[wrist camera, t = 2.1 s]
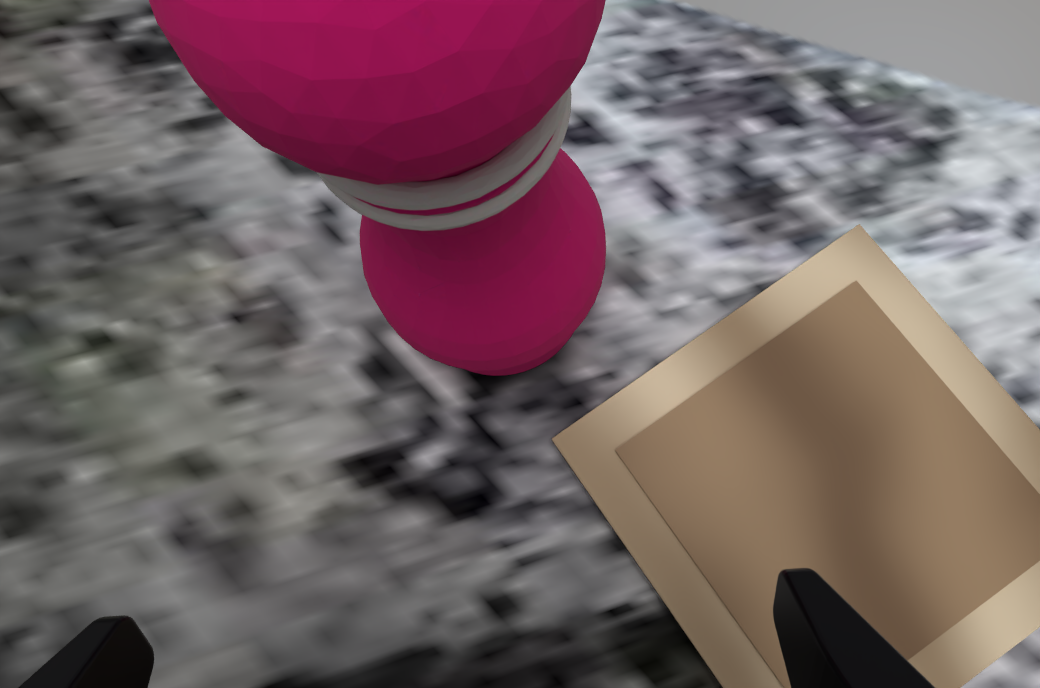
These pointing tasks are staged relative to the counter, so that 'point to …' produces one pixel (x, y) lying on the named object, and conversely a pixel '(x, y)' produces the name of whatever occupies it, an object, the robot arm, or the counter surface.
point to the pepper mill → (427, 151)
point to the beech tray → (826, 474)
